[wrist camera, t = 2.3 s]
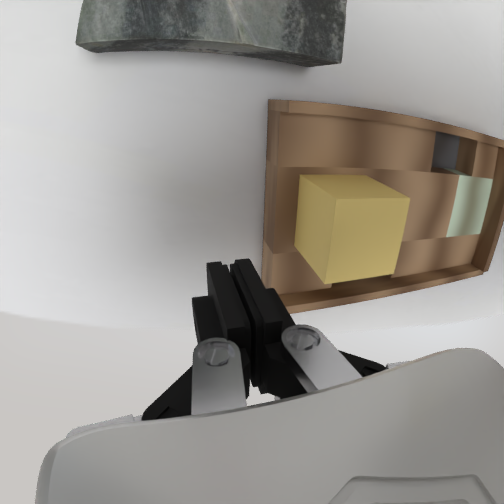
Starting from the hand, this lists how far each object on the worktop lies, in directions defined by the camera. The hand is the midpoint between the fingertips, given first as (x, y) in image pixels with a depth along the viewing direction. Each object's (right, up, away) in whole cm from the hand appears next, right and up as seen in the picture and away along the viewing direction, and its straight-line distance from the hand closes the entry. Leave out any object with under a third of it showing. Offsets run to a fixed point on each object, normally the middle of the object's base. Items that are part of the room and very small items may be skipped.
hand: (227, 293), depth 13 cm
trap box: (+14, +6, +13) cm, 20 cm away
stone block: (-2, +18, +3) cm, 19 cm away
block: (+6, +5, +9) cm, 12 cm away
